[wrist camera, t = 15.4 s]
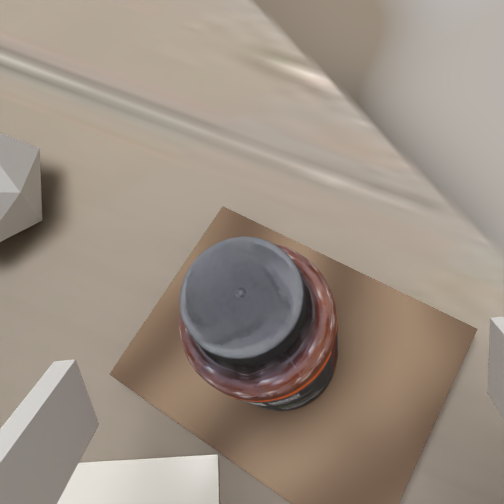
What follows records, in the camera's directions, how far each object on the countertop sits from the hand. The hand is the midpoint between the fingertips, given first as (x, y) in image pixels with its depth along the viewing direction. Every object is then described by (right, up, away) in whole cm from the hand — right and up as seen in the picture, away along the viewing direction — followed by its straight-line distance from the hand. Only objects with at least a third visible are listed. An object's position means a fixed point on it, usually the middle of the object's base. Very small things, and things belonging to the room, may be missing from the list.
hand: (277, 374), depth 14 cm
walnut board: (+1, -2, +11) cm, 11 cm away
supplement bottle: (+1, -2, +10) cm, 10 cm away
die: (-19, +7, +19) cm, 27 cm away
